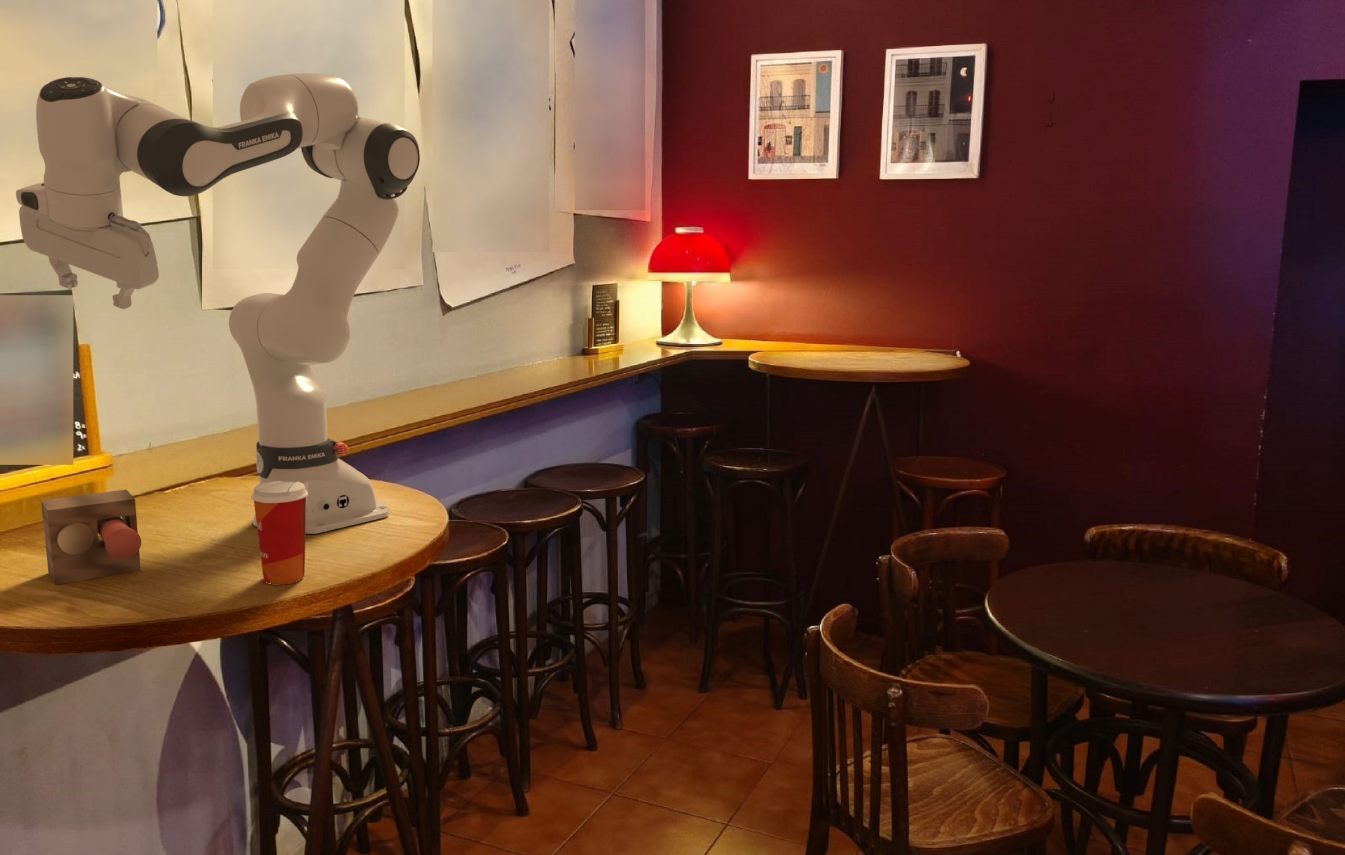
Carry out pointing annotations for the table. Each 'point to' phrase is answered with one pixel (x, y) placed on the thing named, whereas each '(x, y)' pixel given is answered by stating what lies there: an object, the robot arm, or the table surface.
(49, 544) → the socket block
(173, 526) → the table surface
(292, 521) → the paper cup
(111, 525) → the red plug
